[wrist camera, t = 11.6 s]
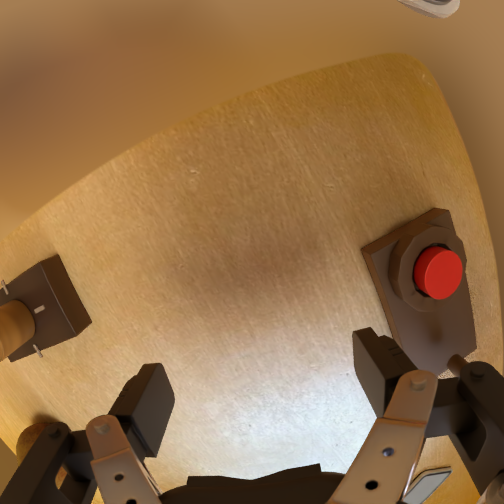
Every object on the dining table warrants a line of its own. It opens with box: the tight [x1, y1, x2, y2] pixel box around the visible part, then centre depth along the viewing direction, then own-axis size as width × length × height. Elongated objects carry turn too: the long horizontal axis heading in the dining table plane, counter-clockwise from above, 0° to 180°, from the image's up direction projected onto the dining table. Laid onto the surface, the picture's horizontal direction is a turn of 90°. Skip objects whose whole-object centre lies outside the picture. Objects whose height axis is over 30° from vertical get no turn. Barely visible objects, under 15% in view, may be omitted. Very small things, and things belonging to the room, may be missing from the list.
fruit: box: [16, 423, 67, 488], centre depth 23 cm, size 9×9×12 cm
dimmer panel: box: [0, 255, 92, 362], centre depth 23 cm, size 12×8×3 cm
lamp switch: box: [414, 246, 462, 299], centre depth 19 cm, size 4×4×2 cm
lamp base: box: [361, 208, 477, 377], centre depth 22 cm, size 15×8×4 cm, turn 27°
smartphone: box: [403, 467, 453, 504], centre depth 31 cm, size 7×1×15 cm
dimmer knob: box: [0, 300, 35, 362], centre depth 19 cm, size 4×4×5 cm
